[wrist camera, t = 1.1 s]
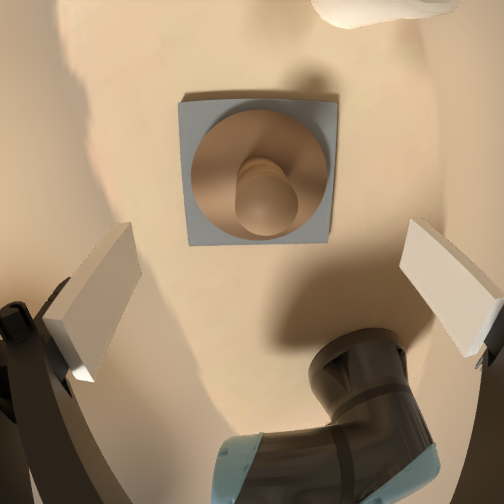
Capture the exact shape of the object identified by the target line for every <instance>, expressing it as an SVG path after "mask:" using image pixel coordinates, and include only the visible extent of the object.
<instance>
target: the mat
mask: <svg viewBox="0 0 504 504" xmlns="http://www.w3.org/2000/svg"><path fill="white" fill-rule="evenodd" d="M248 110H270V111H275V112H279V113H282V114H285V115H288V116H290V117H292V118H294V119H295V120H297V121H298V122H300V123H301V124H303V125H304V126H305V127H306V128H307V129H308V130H309V131H310V132H311V133H312V134H313V135H314V137H315V138H316V139H317V141H318V143H319V144H320V146H321V148H322V151H323V153H324V156H325V160H326V165H327V184H326V189H325V193H324V196H323V199H322V201H321V203H320V205H319V207H318V208H317V210H316V211H315V213H314V214H313V215H312V217H311V218H310V219H309V220H308V221H307V222H306V223H305V224H303V225H302V226H301V227H300V228H298V229H296V230H295V231H293V232H291V233H289V234H287V235H285V236H282V237H279V238H276V239H271V240H262V241H255V240H246V239H241V238H238V237H234V236H232V235H230V234H227V233H226V232H224V231H222V230H220V229H219V228H218V227H216V226H215V225H213V224H212V223H211V222H210V221H209V220H208V219H207V218H206V216H205V215H204V214H203V213H202V211H201V209H200V208H199V206H198V204H197V202H196V200H195V197H194V194H193V190H192V185H191V167H192V161H193V158H194V154H195V152H196V150H197V148H198V146H199V144H200V142H201V141H202V139H203V138H204V136H205V135H206V134H207V133H208V132H209V131H210V130H211V129H212V128H213V127H214V126H215V125H216V124H218V123H219V122H221V121H222V120H224V119H225V118H227V117H229V116H231V115H234V114H237V113H240V112H243V111H248ZM178 117H179V137H180V153H181V168H182V181H183V193H184V204H185V214H186V224H187V233H188V242H189V246H218V245H260V244H309V243H328V235H329V226H330V216H331V206H332V194H333V182H334V168H335V152H336V132H337V103H336V102H325V101H312V100H295V99H220V100H203V101H190V102H179V103H178Z"/></svg>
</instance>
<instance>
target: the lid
mask: <svg viewBox="0 0 504 504" xmlns="http://www.w3.org/2000/svg"><path fill="white" fill-rule="evenodd" d="M326 184H327V165H326V160H325V156H324V153H323V151H322V148H321V146H320V144H319V143H318V141H317V139H316V138H315V137H314V135H313V134H312V133H311V132H310V131H309V130H308V129H307V128H306V127H305V126H304V125H303V124H301V123H300V122H298V121H297V120H295V119H294V118H292V117H290V116H288V115H285V114H282V113H279V112H275V111H270V110H248V111H243V112H240V113H237V114H234V115H231V116H229V117H227V118H225V119H224V120H222V121H221V122H219V123H218V124H216V125H215V126H214V127H213V128H212V129H211V130H210V131H209V132H208V133H207V134H206V135H205V136H204V138H203V139H202V141H201V142H200V144H199V146H198V148H197V150H196V152H195V154H194V158H193V161H192V167H191V185H192V190H193V194H194V197H195V200H196V202H197V204H198V206H199V208H200V209H201V211H202V213H203V214H204V215H205V216H206V218H207V219H208V220H209V221H210V222H211V223H212V224H213V225H215V226H216V227H218V228H219V229H220V230H222V231H224V232H226V233H227V234H230V235H232V236H234V237H238V238H241V239H246V240H255V241H262V240H271V239H276V238H279V237H282V236H285V235H287V234H289V233H291V232H293V231H295V230H296V229H298V228H300V227H301V226H302V225H303V224H305V223H306V222H307V221H308V220H309V219H310V218H311V217H312V215H313V214H314V213H315V211H316V210H317V208H318V207H319V205H320V203H321V201H322V199H323V196H324V193H325V189H326Z"/></svg>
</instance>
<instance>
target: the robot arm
mask: <svg viewBox="0 0 504 504" xmlns="http://www.w3.org/2000/svg"><path fill="white" fill-rule="evenodd" d="M399 267H400V269H401V270H402V271H403V272H404V274H405V275H406V276H407V277H408V279H409V280H410V281H411V283H412V284H413V285H414V287H415V288H416V289H417V290H418V292H419V293H420V294H421V296H422V297H423V299H424V300H425V301H426V303H427V304H428V305H429V307H430V308H431V309H432V311H433V312H434V314H435V315H436V317H437V318H438V319H439V321H440V322H441V324H442V325H443V327H444V328H445V329H446V331H447V332H448V334H449V335H450V337H451V338H452V340H453V341H454V343H455V345H456V346H457V348H458V349H459V351H460V352H461V354H462V355H463V357H464V358H465V357H468V356H471V355H474V354H477V352H478V351H479V349H480V347H481V346H482V344H483V342H484V343H485V344H486V346H487V349H486V350H485V352H484V353H483V355H482V357H481V358H480V360H479V361H478V363H477V364H476V367H475V369H477V368H478V367H479V365H481V364H483V365H482V368H481V369H480V371H482V375H481V384H480V391H479V399H478V405H477V411H476V416H475V421H474V426H473V431H472V435H471V439H470V443H469V447H468V451H467V455H466V458H465V462H464V466H463V469H462V472H461V475H460V478H459V481H458V484H457V487H456V489H455V492H454V495H453V497H452V500H451V502H450V504H504V293H503V292H502V291H501V290H500V289H499V288H498V287H497V286H496V285H495V284H494V283H493V282H492V281H491V280H490V279H489V278H488V277H487V276H486V275H485V274H484V273H483V272H482V271H481V270H480V269H479V268H478V267H477V266H476V265H475V264H474V263H473V262H472V261H471V260H469V258H468V257H467V256H465V255H464V254H463V253H462V252H461V251H460V250H459V249H458V248H457V247H455V246H454V245H453V244H452V243H451V242H450V241H449V240H447V239H446V238H445V237H444V236H443V235H442V234H440V233H439V232H438V231H437V230H436V229H435V228H433V227H432V226H431V225H430V224H428V223H427V222H426V221H425V220H424V219H421V218H410V223H409V227H408V232H407V236H406V241H405V245H404V249H403V253H402V257H401V261H400V265H399ZM140 276H141V269H140V265H139V260H138V255H137V251H136V246H135V241H134V236H133V230H132V225H131V222H126V223H116V224H115V225H114V226H113V227H112V228H111V230H110V231H109V232H108V233H107V234H106V235H105V237H104V238H103V239H102V240H101V241H100V242H99V243H98V245H97V246H96V247H95V248H94V249H93V251H92V252H91V253H90V254H89V255H88V257H87V258H86V259H85V261H84V262H83V263H82V264H81V265H80V267H79V268H78V270H77V271H76V272H75V273H74V274H73V276H72V277H68V278H67V279H65V280H64V281H63V282H62V283H60V284H59V285H58V286H57V288H56V289H55V290H54V292H53V294H51V296H50V297H49V298H48V301H46V302H45V304H44V305H43V306H42V308H41V310H40V311H39V312H38V314H37V315H36V316H35V318H34V319H32V317H31V315H30V313H29V311H28V309H27V307H26V305H25V303H23V302H12V303H9V304H7V305H6V306H4V307H3V308H2V309H1V310H0V335H1V336H2V338H3V340H0V504H34V499H33V493H32V488H31V482H30V474H29V468H30V471H31V474H32V476H33V479H34V482H35V485H36V487H37V490H38V492H39V495H40V497H41V499H42V502H43V504H133V503H132V502H131V500H130V499H129V497H128V496H127V494H126V493H125V491H124V490H123V489H122V487H121V485H120V484H119V482H118V480H117V479H116V477H115V476H114V474H113V472H112V471H111V469H110V467H109V465H108V464H107V462H106V460H105V458H104V456H103V455H102V453H101V452H100V449H99V447H98V445H97V443H96V441H95V439H94V437H93V435H92V433H91V431H90V429H89V427H88V425H87V423H86V421H85V419H84V416H83V414H82V412H81V410H80V407H79V405H78V403H77V400H76V398H75V395H74V393H73V390H72V388H71V385H70V382H69V381H68V379H67V378H66V374H67V372H68V370H69V368H70V370H71V371H72V373H73V375H74V376H75V377H76V379H79V380H85V381H91V382H95V379H96V377H97V374H98V371H99V369H100V366H101V364H102V361H103V359H104V356H105V354H106V351H107V349H108V347H109V344H110V342H111V340H112V337H113V334H114V333H115V330H116V328H117V326H118V323H119V321H120V319H121V316H122V314H123V312H124V310H125V308H126V306H127V303H128V301H129V299H130V297H131V295H132V293H133V291H134V289H135V287H136V284H137V283H138V280H139V278H140ZM308 375H309V381H310V385H311V389H312V391H313V393H314V395H315V396H316V398H317V399H318V400H319V402H320V403H321V405H322V406H323V408H324V409H325V411H326V412H327V413H328V415H329V416H330V418H331V422H332V426H325V427H318V428H311V429H304V430H295V431H286V432H275V433H264V432H260V433H259V434H254V435H242V436H233V437H230V438H228V439H227V440H226V441H225V442H224V443H223V444H222V446H221V448H220V450H219V452H218V456H217V459H216V463H215V468H214V474H213V481H212V490H211V491H212V492H211V504H394V503H396V502H398V501H400V500H401V499H404V498H406V497H407V496H409V495H411V494H413V493H414V492H416V491H418V490H420V489H421V488H423V487H424V486H426V485H427V484H429V483H430V482H431V481H432V480H434V479H435V478H436V476H437V475H438V473H439V471H440V461H439V457H438V454H437V450H436V444H435V442H433V439H432V437H431V435H430V432H429V430H428V428H427V425H426V423H425V421H424V418H423V416H422V414H421V411H420V409H419V407H418V405H417V402H416V400H415V398H414V396H413V394H412V392H411V389H410V387H409V383H408V370H407V360H406V352H405V349H404V347H403V345H402V343H401V341H400V340H399V338H398V337H397V335H395V334H394V333H393V332H391V331H388V330H385V329H365V330H360V331H356V332H353V333H350V334H348V335H345V336H343V337H341V338H339V339H337V340H335V341H334V342H332V343H330V344H329V345H328V346H326V347H325V348H324V349H323V350H322V351H320V352H319V354H318V355H317V356H316V357H315V358H314V360H313V361H312V363H311V365H310V368H309V373H308ZM28 465H29V466H28Z"/></svg>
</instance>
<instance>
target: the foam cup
mask: <svg viewBox="0 0 504 504" xmlns="http://www.w3.org/2000/svg"><path fill="white" fill-rule="evenodd" d="M464 1H465V0H311V3H312V7H313V8H314V10H315V11H316V12H317V13H318V14H319V16H320V17H321V18H322V19H324V20H325V21H327V22H329V23H330V24H332V25H333V26H336V27H341V28H345V29H353V28H359V27H364V26H369V25H373V24H378V23H383V22H388V21H394V20H400V19H406V18H407V19H417V18H432V17H436V16H440V15H443V14H446V13H450V12H453V11H454V10H455V9H456V8H457V7H458V6H459V5H460V4H462V3H463V2H464Z"/></svg>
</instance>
